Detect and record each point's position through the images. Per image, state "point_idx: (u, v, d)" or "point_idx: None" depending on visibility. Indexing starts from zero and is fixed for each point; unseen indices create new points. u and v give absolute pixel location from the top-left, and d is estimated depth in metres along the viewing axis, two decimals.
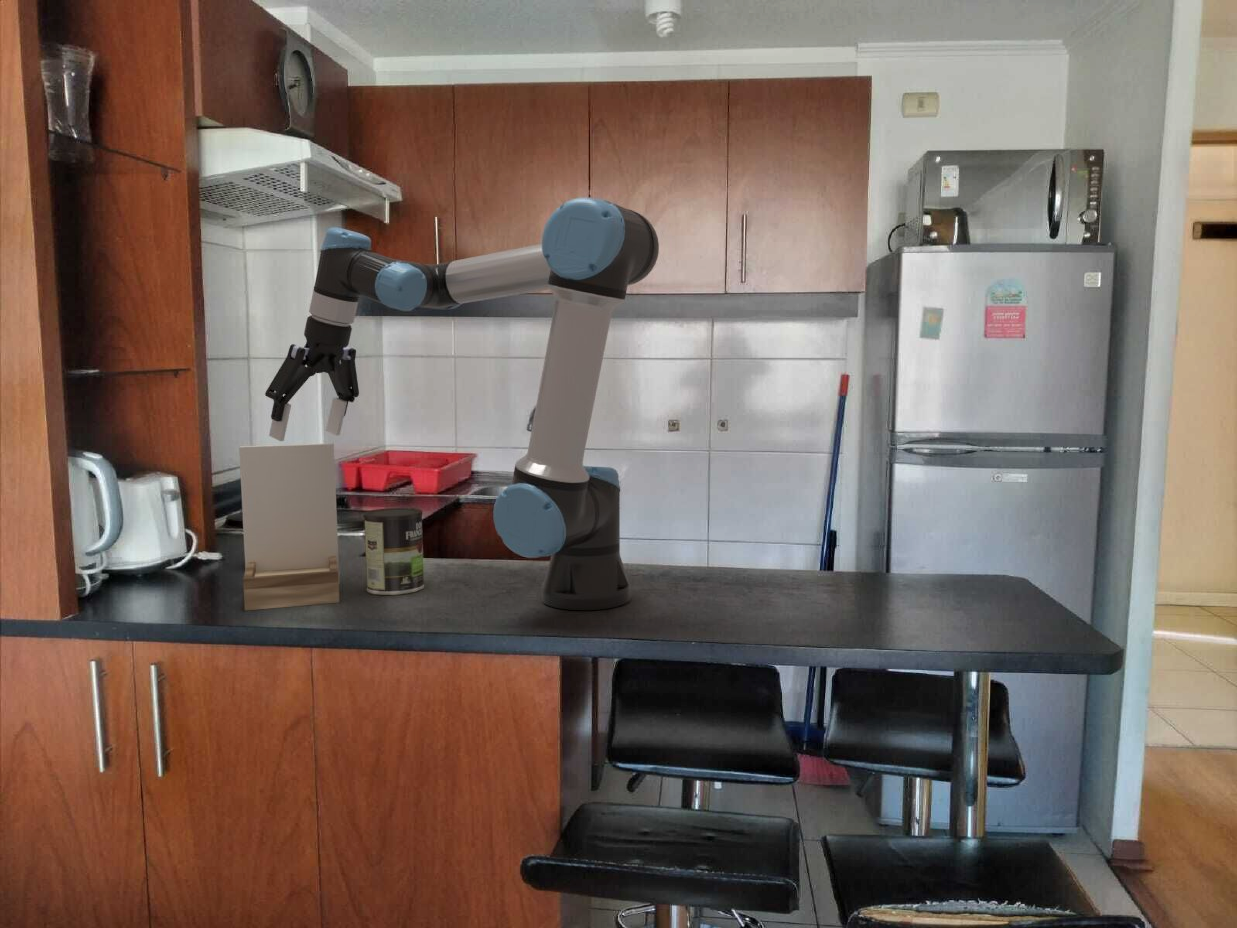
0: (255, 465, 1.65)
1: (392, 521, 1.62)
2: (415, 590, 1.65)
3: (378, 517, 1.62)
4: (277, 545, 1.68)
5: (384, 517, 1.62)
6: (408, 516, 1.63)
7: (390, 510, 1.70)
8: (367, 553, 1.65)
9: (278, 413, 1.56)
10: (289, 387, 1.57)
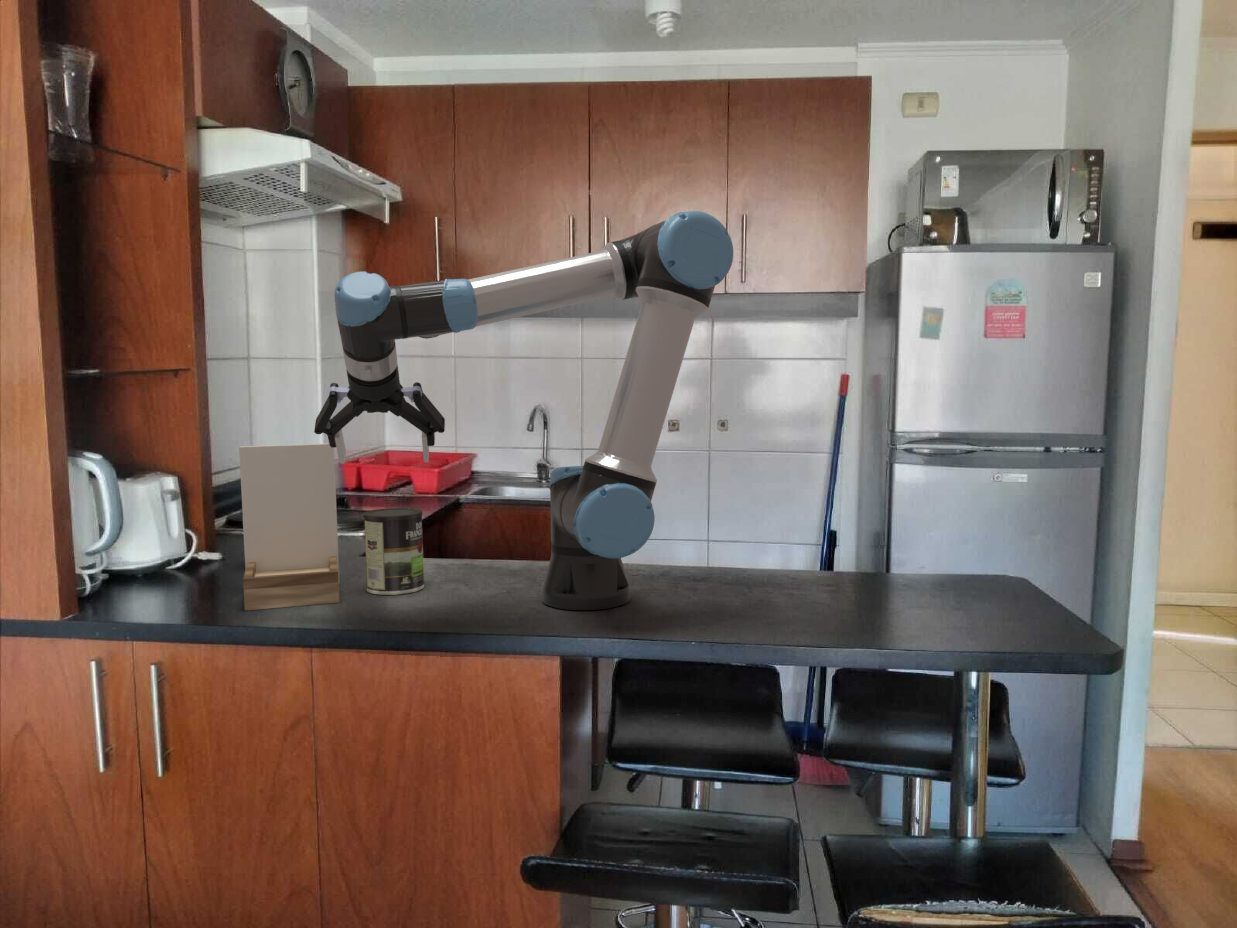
0: (255, 465, 1.65)
1: (392, 521, 1.62)
2: (415, 590, 1.65)
3: (378, 517, 1.62)
4: (277, 545, 1.68)
5: (384, 517, 1.62)
6: (408, 516, 1.63)
7: (390, 510, 1.70)
8: (367, 553, 1.65)
9: (433, 434, 1.53)
10: (422, 416, 1.49)
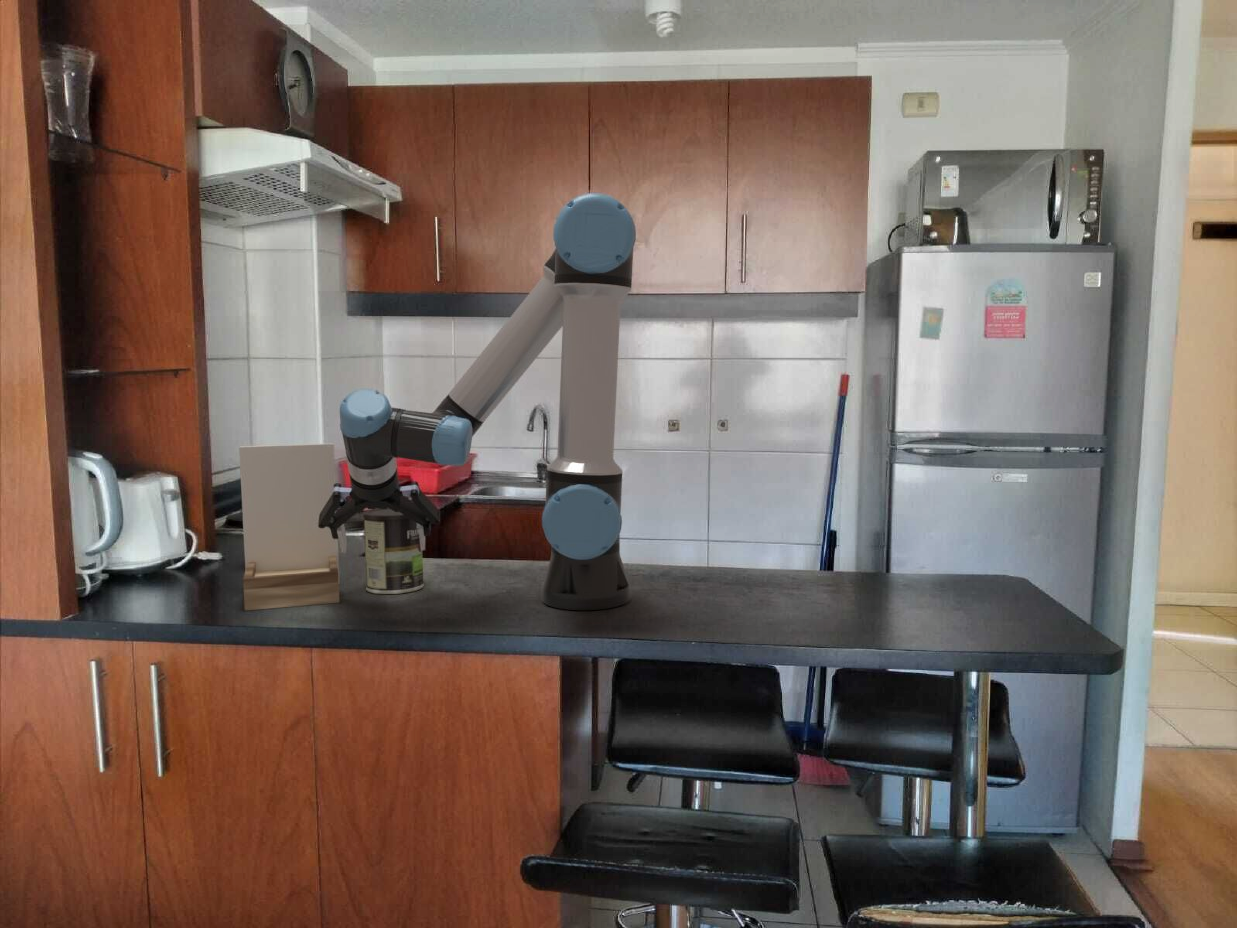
0: (255, 465, 1.65)
1: (394, 520, 1.63)
2: (416, 589, 1.66)
3: (379, 516, 1.62)
4: (277, 545, 1.68)
5: (385, 516, 1.62)
6: None
7: (388, 509, 1.70)
8: (367, 553, 1.65)
9: (429, 524, 1.64)
10: (419, 510, 1.60)
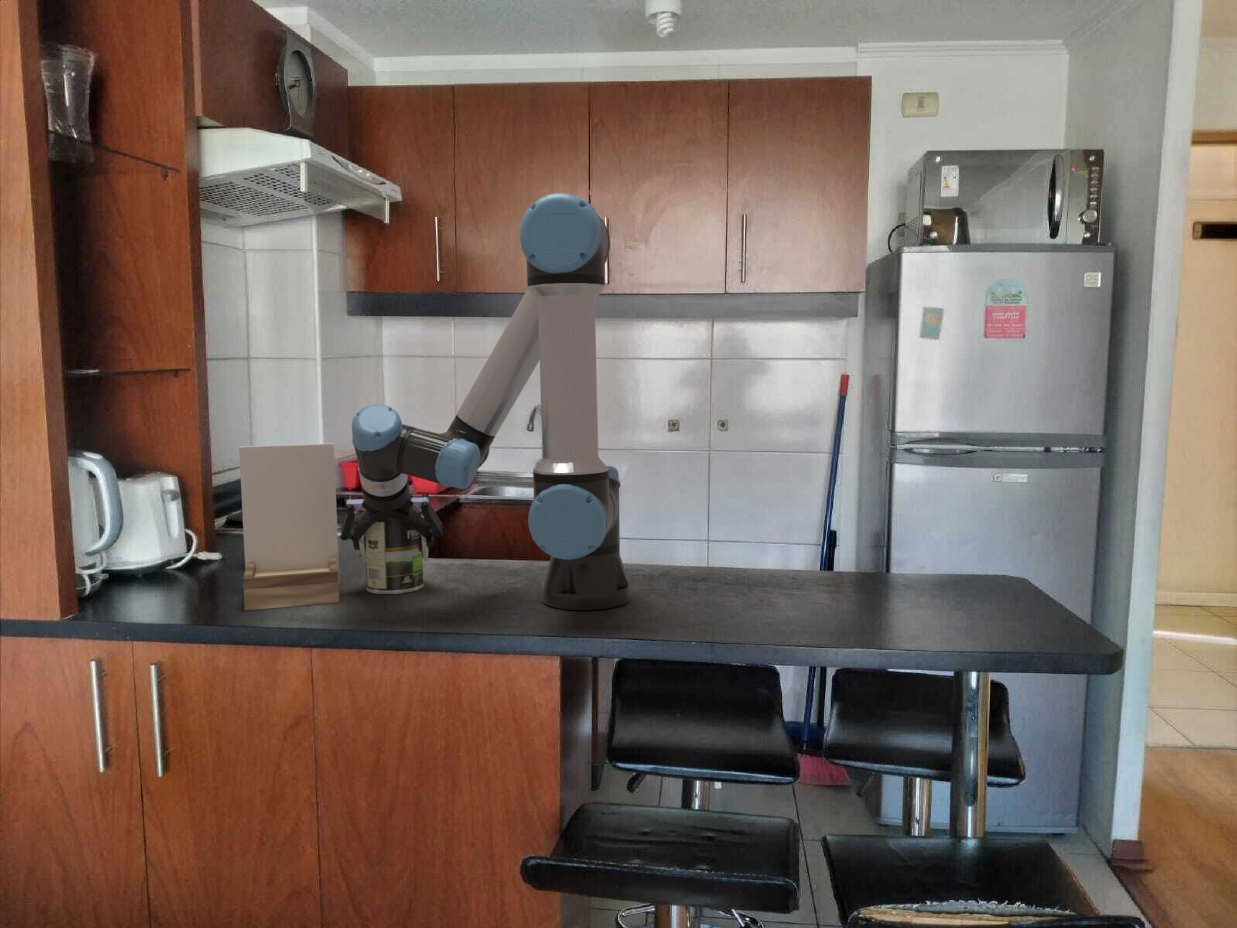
0: (255, 465, 1.65)
1: (394, 520, 1.63)
2: (416, 589, 1.66)
3: None
4: (277, 545, 1.68)
5: None
6: None
7: None
8: (367, 553, 1.65)
9: None
10: (424, 522, 1.64)
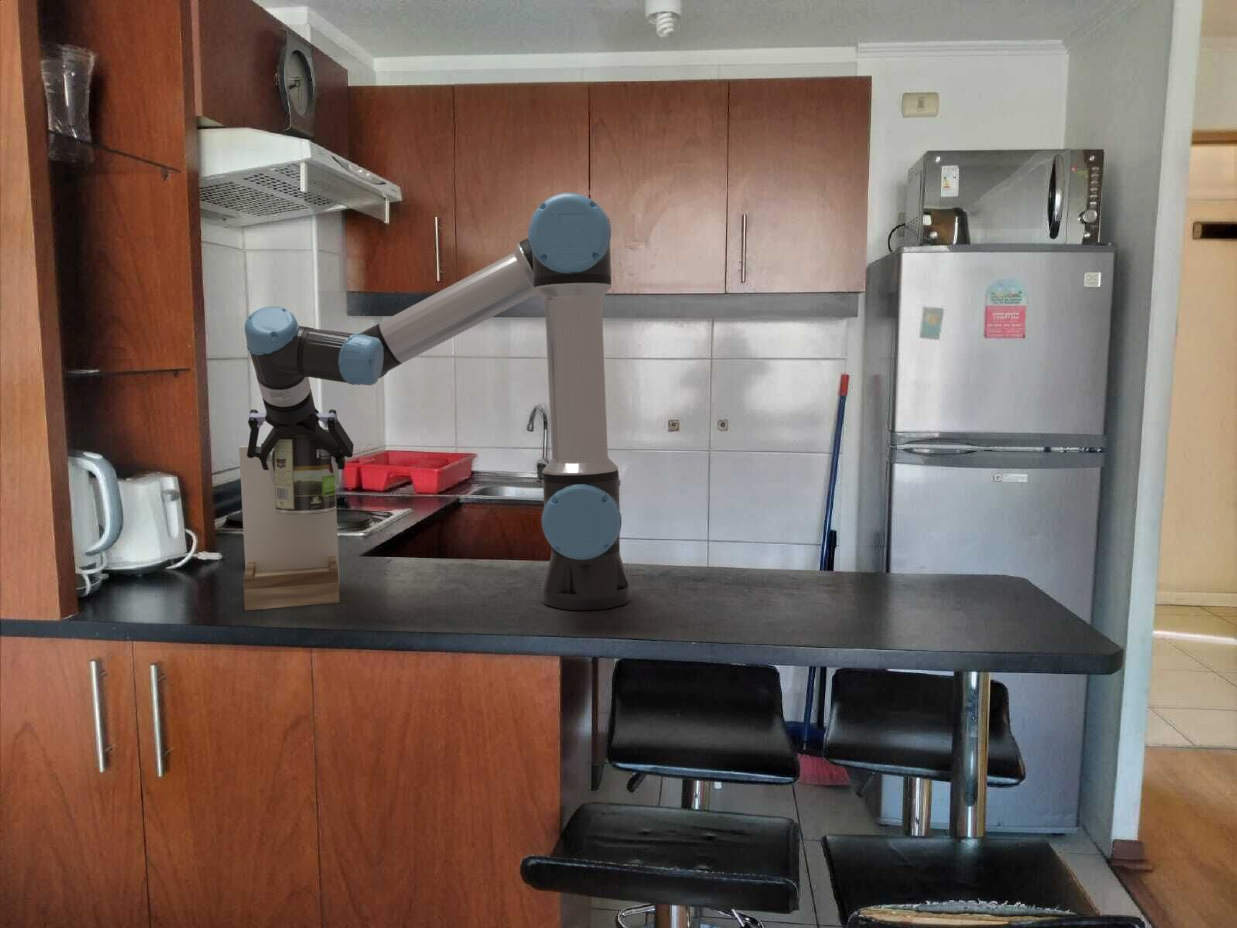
0: (255, 465, 1.65)
1: (302, 438, 1.57)
2: (326, 511, 1.61)
3: None
4: (277, 545, 1.68)
5: (294, 434, 1.57)
6: None
7: None
8: (276, 472, 1.60)
9: (344, 458, 1.63)
10: (334, 441, 1.59)
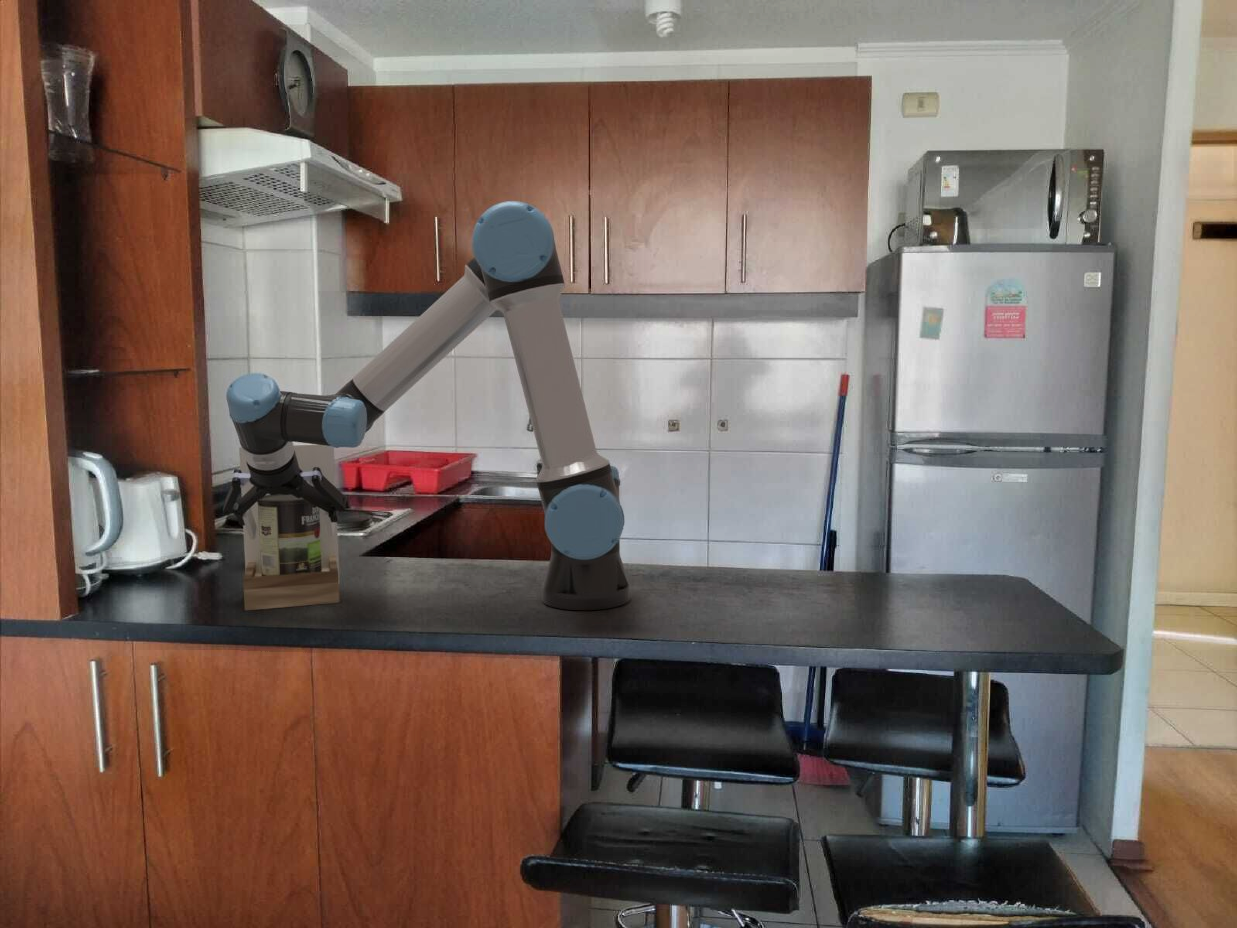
0: None
1: (287, 505, 1.57)
2: None
3: (272, 501, 1.57)
4: None
5: (278, 501, 1.57)
6: (304, 500, 1.59)
7: (286, 495, 1.65)
8: (261, 539, 1.60)
9: (336, 511, 1.62)
10: (324, 496, 1.59)
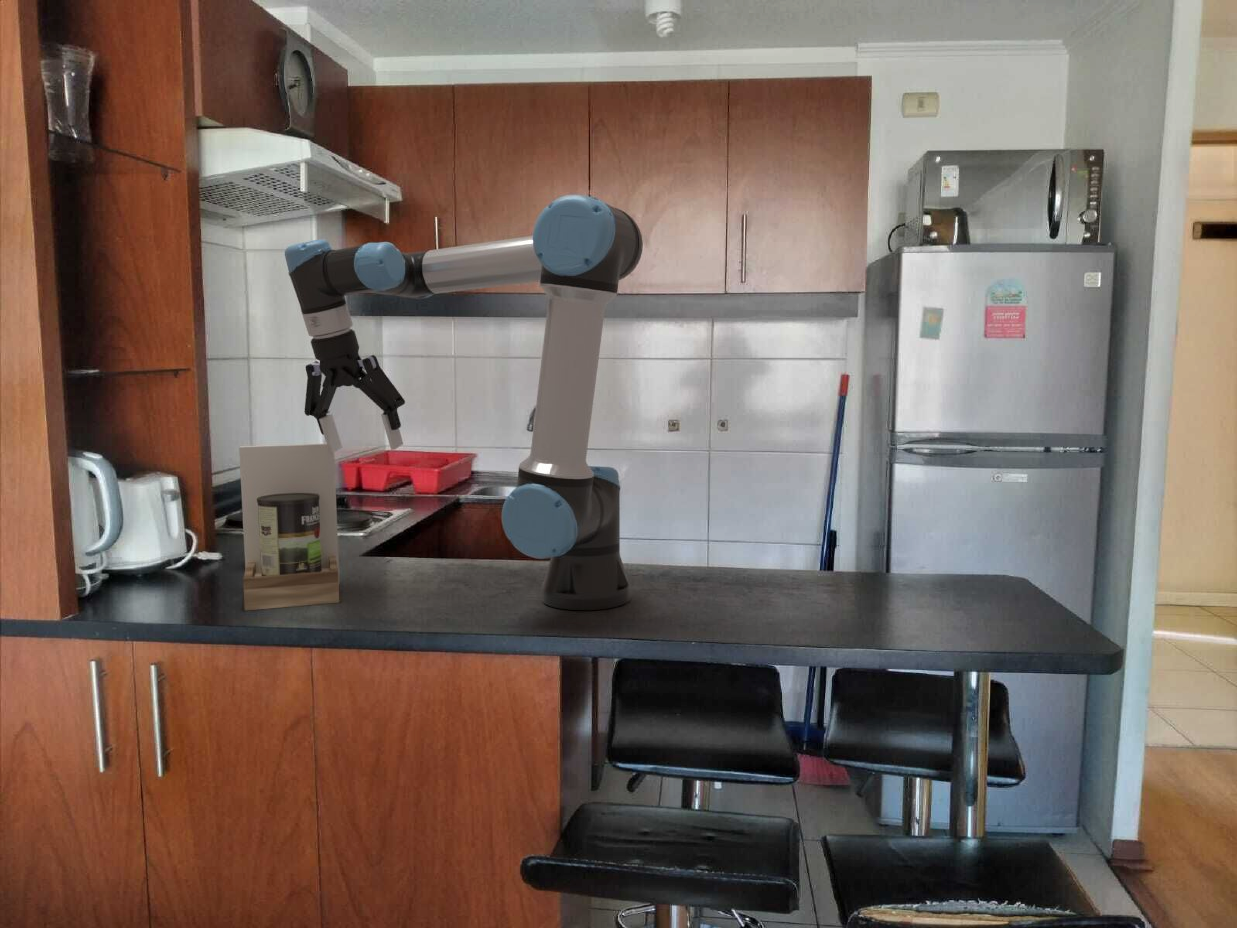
0: (255, 465, 1.65)
1: (287, 505, 1.57)
2: None
3: (272, 501, 1.57)
4: None
5: (278, 501, 1.57)
6: (304, 500, 1.59)
7: (286, 495, 1.65)
8: (261, 539, 1.60)
9: (398, 419, 1.61)
10: (383, 395, 1.60)
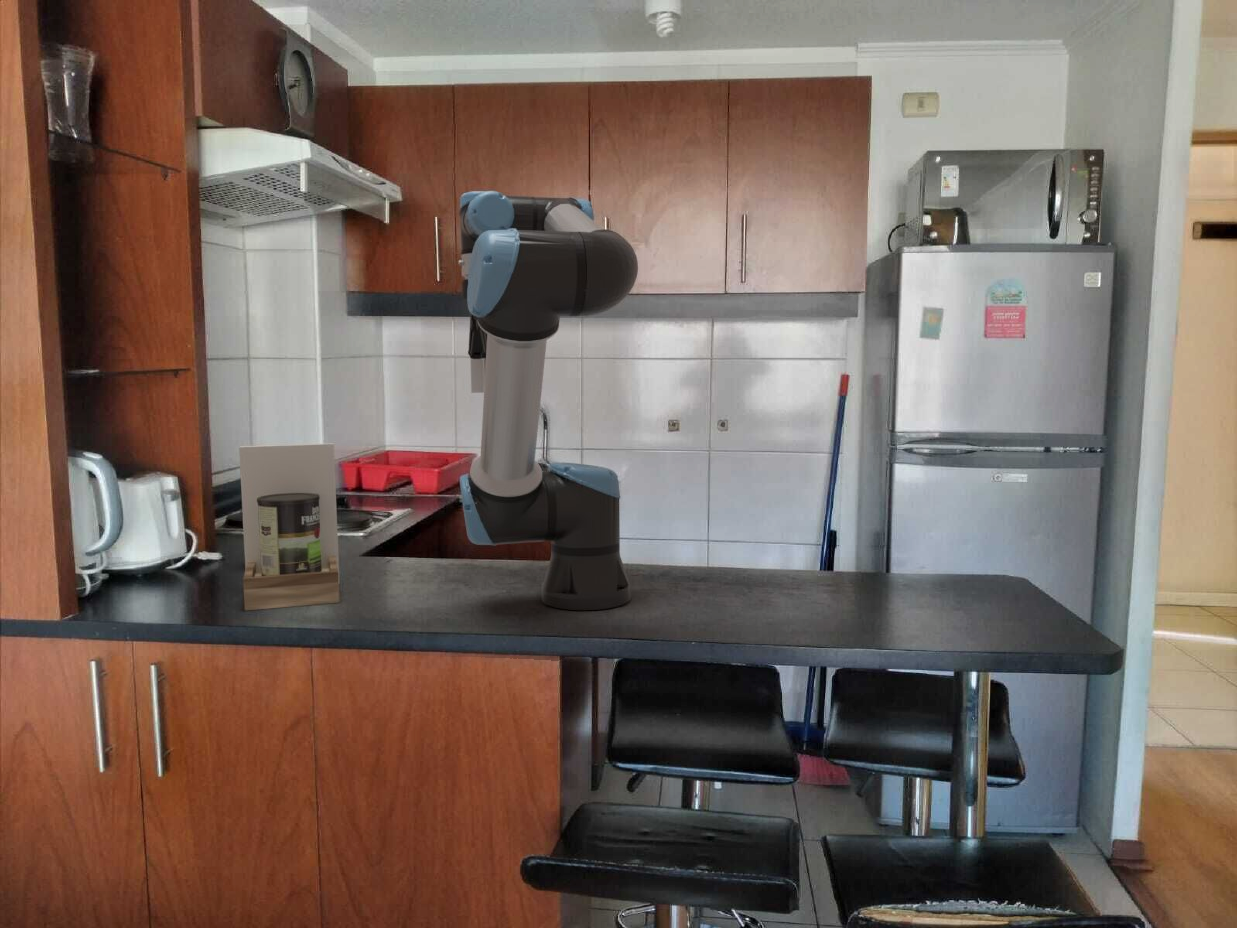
0: (255, 465, 1.65)
1: (287, 505, 1.57)
2: None
3: (272, 501, 1.57)
4: None
5: (278, 501, 1.57)
6: (304, 500, 1.59)
7: (286, 495, 1.65)
8: (261, 539, 1.60)
9: None
10: None
